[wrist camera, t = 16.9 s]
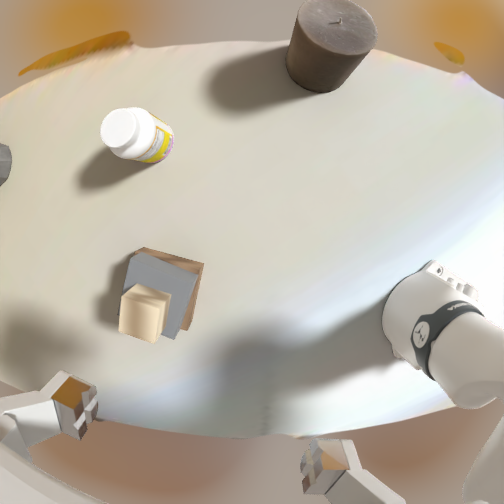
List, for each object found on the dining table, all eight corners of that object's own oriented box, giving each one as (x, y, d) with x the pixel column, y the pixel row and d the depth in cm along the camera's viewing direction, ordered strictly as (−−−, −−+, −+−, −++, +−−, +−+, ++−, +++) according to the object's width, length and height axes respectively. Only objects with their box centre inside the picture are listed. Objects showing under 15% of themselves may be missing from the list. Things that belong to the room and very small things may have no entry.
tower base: (204, 262, 44) (199, 269, 40) (192, 319, 46) (187, 330, 42) (144, 246, 44) (134, 251, 40) (136, 303, 46) (127, 312, 42)
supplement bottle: (130, 133, 40) (87, 117, 27) (167, 114, 39) (134, 89, 27) (143, 171, 41) (101, 166, 28) (181, 152, 40) (151, 139, 28)
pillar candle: (317, 104, 38) (346, 66, 24) (272, 61, 37) (279, 8, 22) (358, 72, 37) (398, 31, 22) (315, 31, 36) (337, -21, 21)
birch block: (171, 294, 37) (159, 308, 32) (165, 326, 38) (154, 343, 33) (137, 283, 37) (121, 296, 32) (133, 315, 38) (118, 331, 33)
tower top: (198, 275, 40) (192, 283, 37) (180, 327, 42) (174, 339, 38) (141, 251, 40) (130, 258, 36) (128, 304, 42) (117, 314, 38)
